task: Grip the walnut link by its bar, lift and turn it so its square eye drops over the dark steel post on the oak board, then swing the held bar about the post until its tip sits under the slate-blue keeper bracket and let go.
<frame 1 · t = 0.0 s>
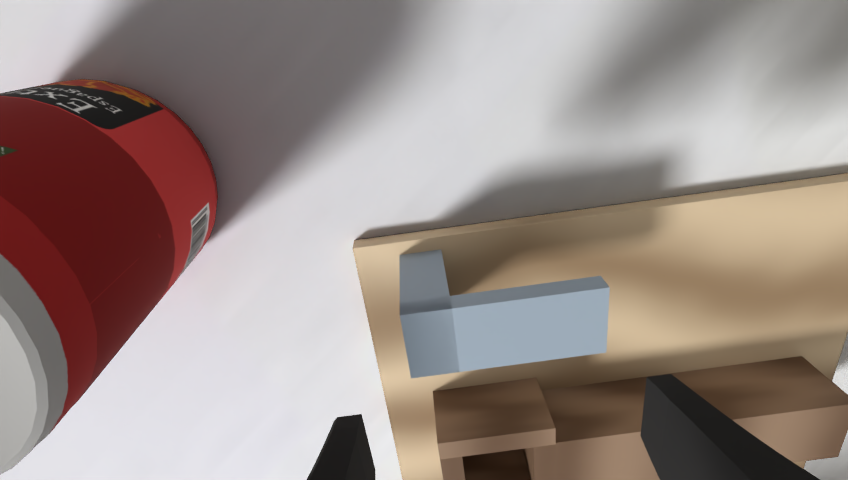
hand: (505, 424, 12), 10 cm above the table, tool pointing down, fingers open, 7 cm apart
board: (606, 387, 25), on the table
keeper: (515, 258, 21), resting on board
canned food: (129, 178, 19), on the table
link: (487, 422, 25), point 1 cm above the table, touching board
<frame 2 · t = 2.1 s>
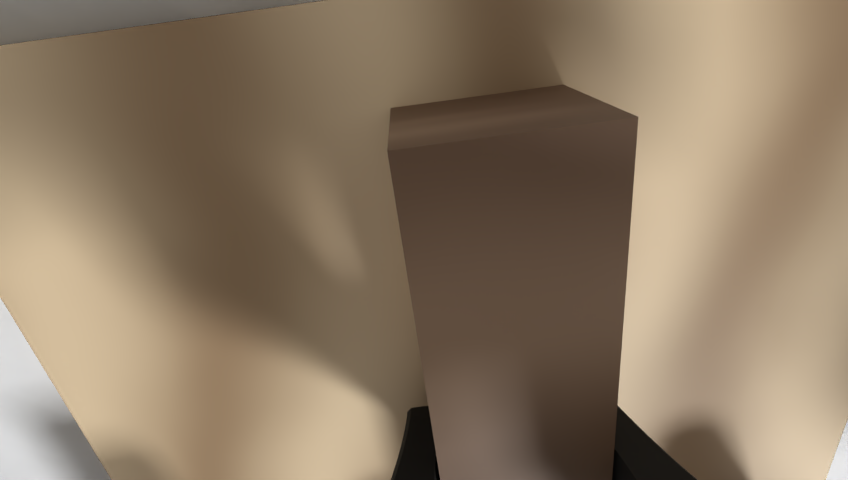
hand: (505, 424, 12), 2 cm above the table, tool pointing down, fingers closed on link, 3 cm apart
board: (480, 421, 14), on the table
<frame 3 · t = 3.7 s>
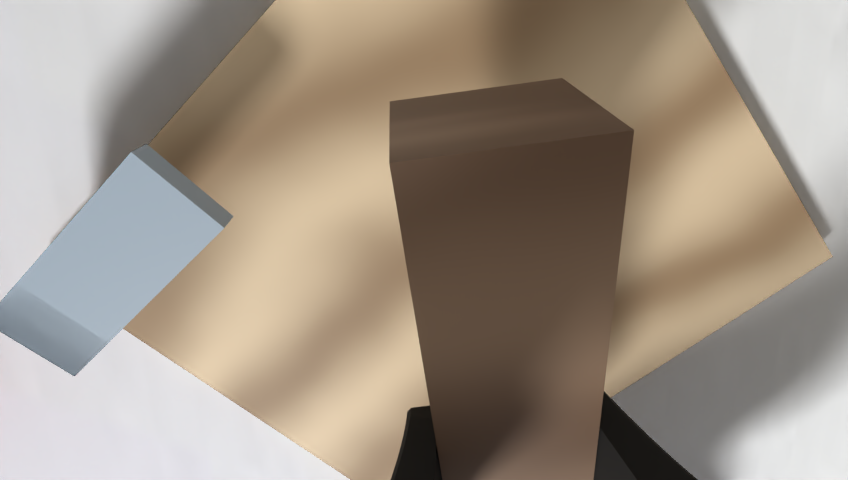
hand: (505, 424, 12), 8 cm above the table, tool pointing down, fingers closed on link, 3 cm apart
board: (448, 254, 19), on the table
keeper: (204, 179, 17), resting on board
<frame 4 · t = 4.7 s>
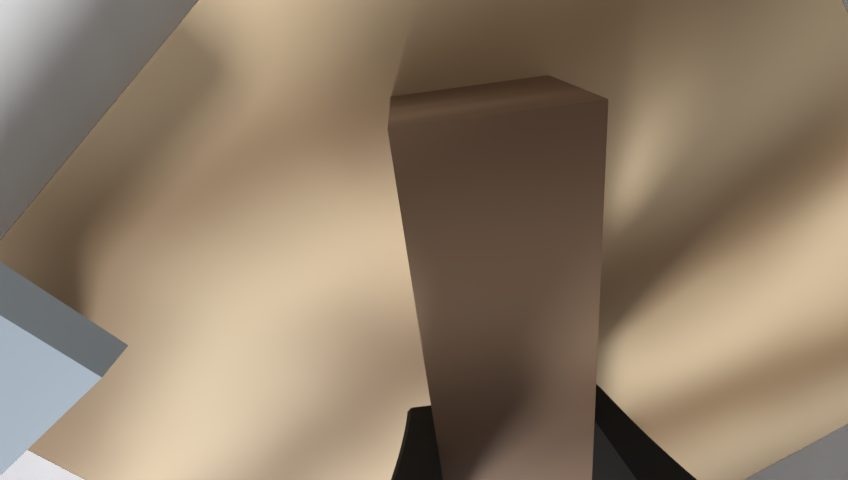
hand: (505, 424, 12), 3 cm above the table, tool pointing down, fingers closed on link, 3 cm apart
board: (466, 342, 14), on the table
keeper: (122, 250, 12), resting on board
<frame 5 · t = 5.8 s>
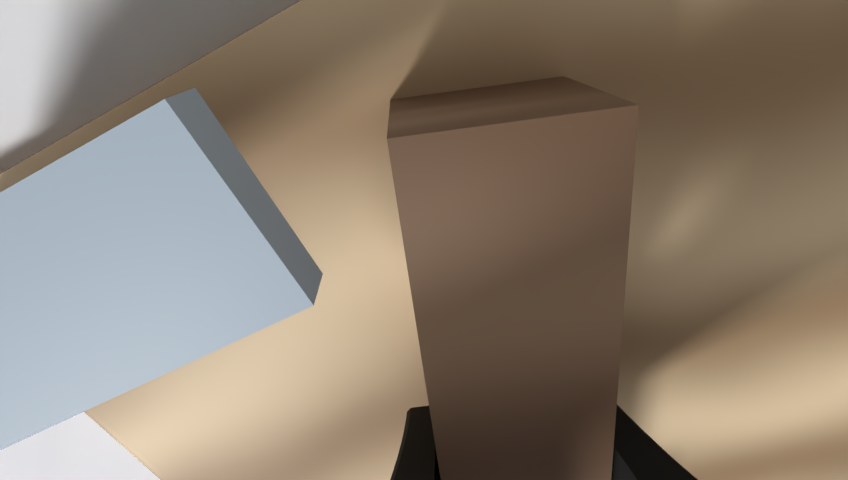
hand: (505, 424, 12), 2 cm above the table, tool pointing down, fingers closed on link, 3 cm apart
board: (554, 354, 13), on the table
keeper: (236, 162, 10), resting on board
when the fingers open (2 cm above the table, at t = 6.8 s): link stays where it is, resting on board.
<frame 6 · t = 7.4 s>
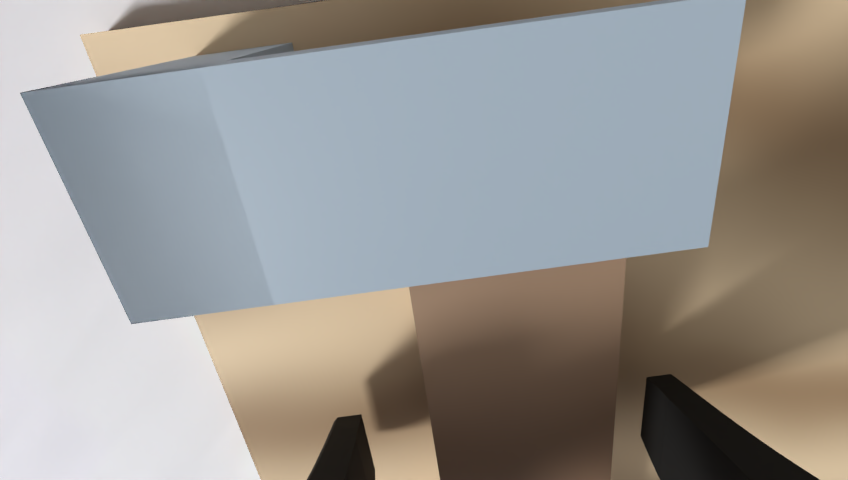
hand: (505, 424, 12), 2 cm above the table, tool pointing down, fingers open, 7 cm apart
board: (649, 372, 14), on the table
keeper: (470, 89, 10), resting on board
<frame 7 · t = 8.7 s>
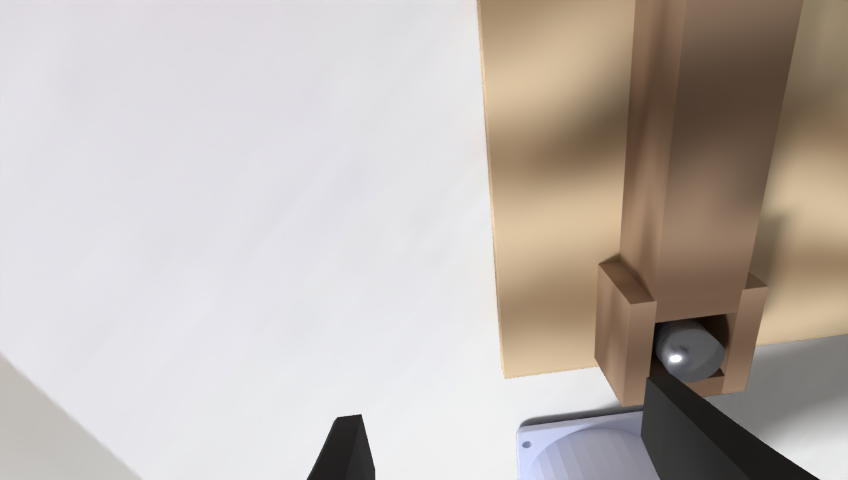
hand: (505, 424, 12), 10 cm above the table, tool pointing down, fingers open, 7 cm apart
board: (768, 131, 19), on the table
post: (644, 299, 23), resting on board
link: (652, 305, 22), point 1 cm above the table, touching board
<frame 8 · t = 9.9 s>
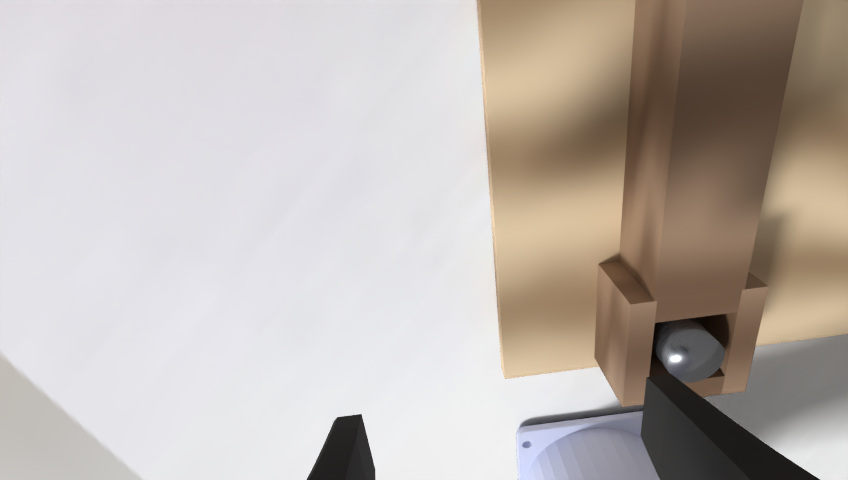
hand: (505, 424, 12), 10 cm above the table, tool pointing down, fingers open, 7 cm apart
board: (768, 131, 19), on the table
post: (644, 299, 23), resting on board
link: (652, 305, 22), point 1 cm above the table, touching board
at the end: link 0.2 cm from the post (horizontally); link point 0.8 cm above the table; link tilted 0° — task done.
